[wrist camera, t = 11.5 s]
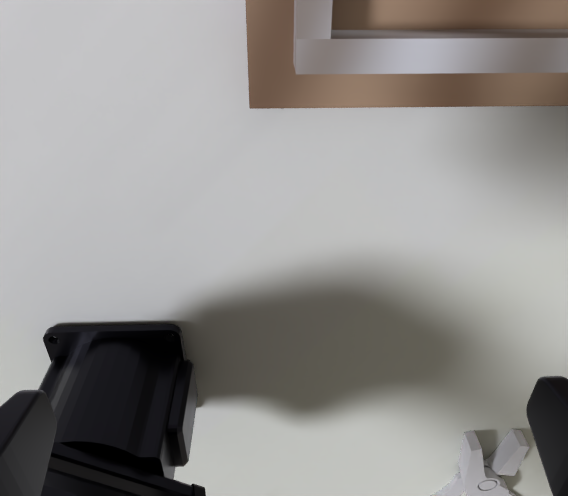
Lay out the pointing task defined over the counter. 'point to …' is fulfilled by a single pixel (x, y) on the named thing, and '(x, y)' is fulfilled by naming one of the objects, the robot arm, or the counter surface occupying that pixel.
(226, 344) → the counter surface
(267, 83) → the brown square tray
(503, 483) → the pliers
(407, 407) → the counter surface
